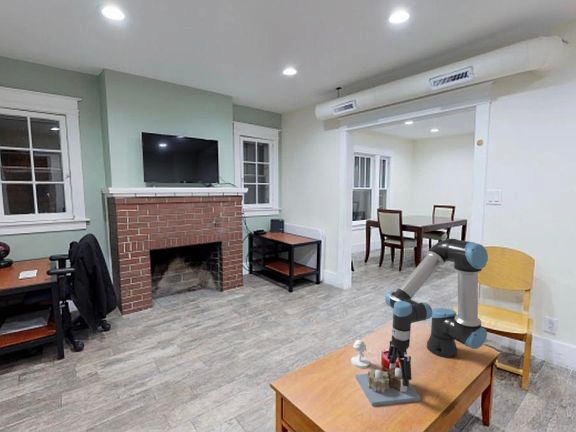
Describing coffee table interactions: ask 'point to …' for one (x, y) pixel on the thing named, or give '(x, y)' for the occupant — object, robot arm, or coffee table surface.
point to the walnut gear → (394, 380)
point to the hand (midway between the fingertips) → (397, 383)
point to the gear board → (391, 394)
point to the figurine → (360, 355)
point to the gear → (378, 382)
